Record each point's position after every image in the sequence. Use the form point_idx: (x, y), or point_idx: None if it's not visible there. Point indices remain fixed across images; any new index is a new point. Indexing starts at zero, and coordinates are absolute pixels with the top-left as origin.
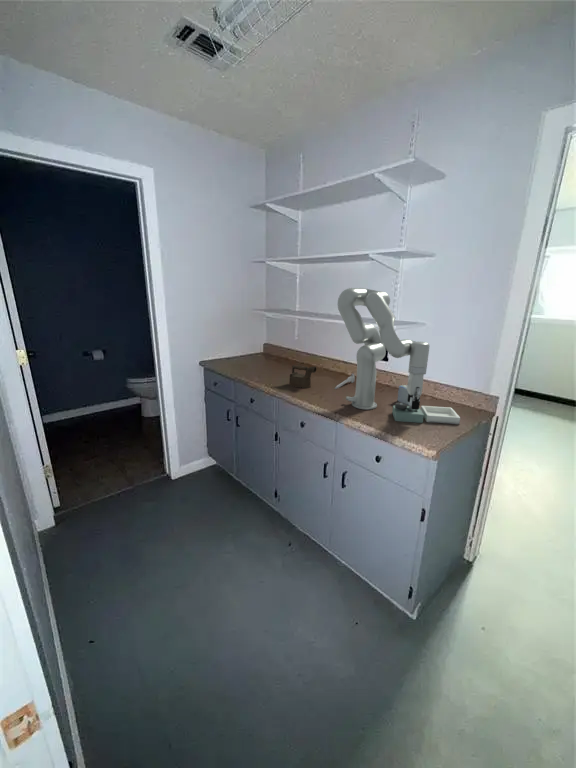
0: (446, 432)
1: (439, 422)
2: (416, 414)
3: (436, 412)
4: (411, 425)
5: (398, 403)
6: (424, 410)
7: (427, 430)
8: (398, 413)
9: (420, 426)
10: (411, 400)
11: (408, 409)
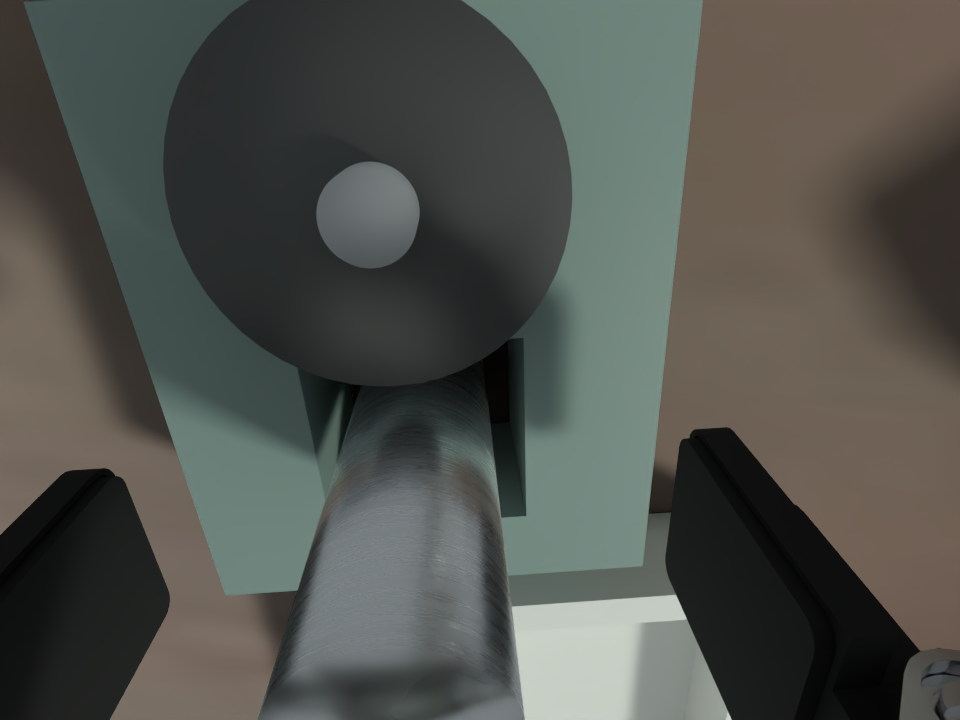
0: None
1: None
2: (193, 488)
3: (673, 675)
4: (82, 327)
5: (464, 117)
6: (548, 606)
7: (8, 514)
8: (66, 88)
9: (115, 448)
10: (304, 607)
11: (522, 368)
